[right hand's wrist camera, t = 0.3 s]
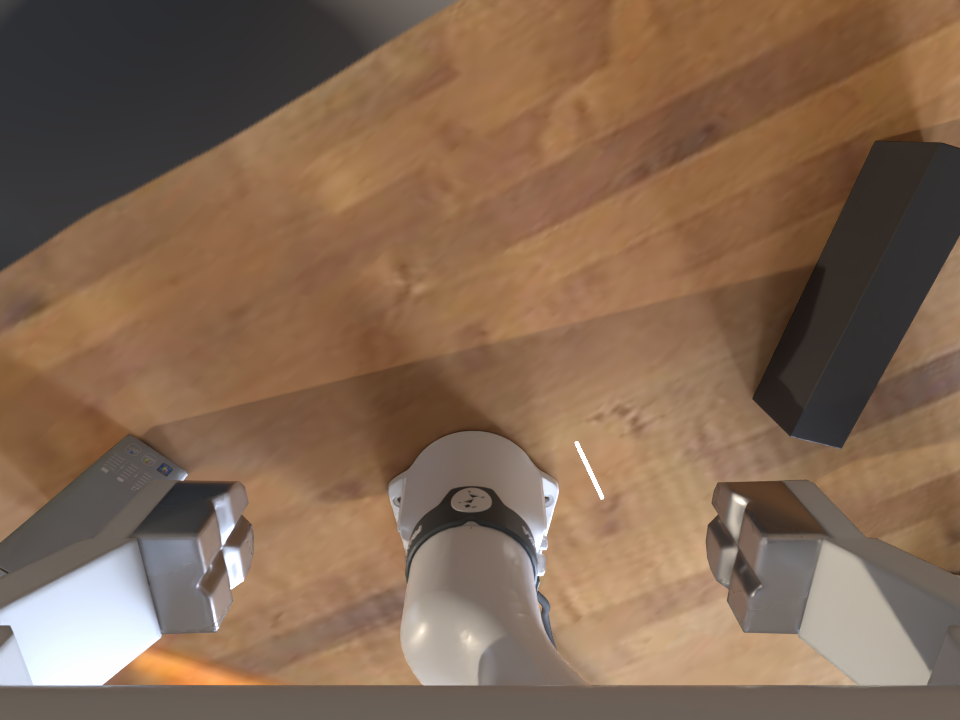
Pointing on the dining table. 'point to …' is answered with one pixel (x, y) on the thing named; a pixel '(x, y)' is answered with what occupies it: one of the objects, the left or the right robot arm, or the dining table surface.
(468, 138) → the dining table surface
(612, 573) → the dining table surface
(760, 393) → the bar
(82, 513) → the hard drive box
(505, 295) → the dining table surface
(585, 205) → the dining table surface
